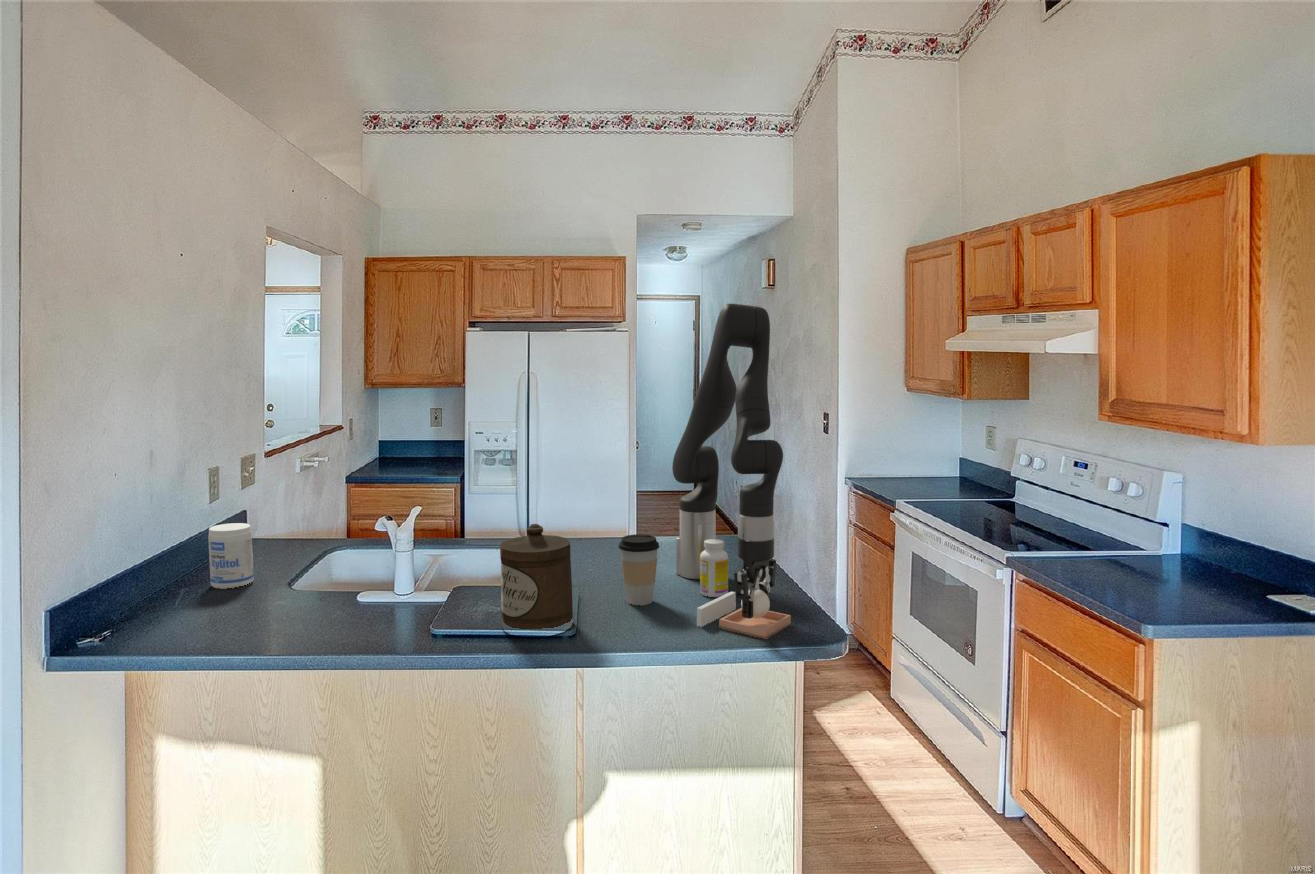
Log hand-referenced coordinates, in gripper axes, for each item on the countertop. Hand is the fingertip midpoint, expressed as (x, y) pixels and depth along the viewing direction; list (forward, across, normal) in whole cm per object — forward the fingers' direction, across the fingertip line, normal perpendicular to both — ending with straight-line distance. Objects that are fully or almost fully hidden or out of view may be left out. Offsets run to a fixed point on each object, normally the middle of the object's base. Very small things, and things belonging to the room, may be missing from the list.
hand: (755, 613), depth 171 cm
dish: (+3, 0, 0) cm, 3 cm away
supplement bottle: (+3, -14, -19) cm, 24 cm away
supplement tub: (+3, +49, -121) cm, 131 cm away
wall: (+3, 0, -10) cm, 10 cm away
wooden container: (+3, +26, -38) cm, 46 cm away
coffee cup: (+3, +1, -30) cm, 30 cm away
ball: (+1, 0, 0) cm, 1 cm away
